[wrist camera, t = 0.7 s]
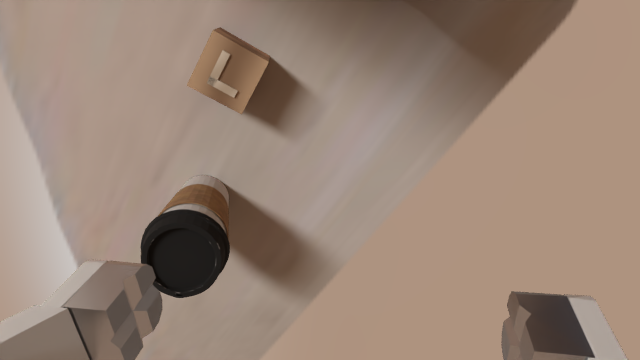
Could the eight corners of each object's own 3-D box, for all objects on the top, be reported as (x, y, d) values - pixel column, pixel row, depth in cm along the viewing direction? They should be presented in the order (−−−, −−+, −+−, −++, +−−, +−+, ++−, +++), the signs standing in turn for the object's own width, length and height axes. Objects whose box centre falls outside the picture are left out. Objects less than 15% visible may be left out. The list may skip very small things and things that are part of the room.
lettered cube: (195, 78, 49) (185, 87, 44) (220, 27, 48) (212, 30, 42) (244, 104, 51) (240, 116, 45) (269, 55, 49) (268, 62, 43)
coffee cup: (168, 223, 55) (132, 296, 41) (171, 160, 52) (134, 216, 39) (235, 230, 57) (222, 303, 43) (242, 169, 54) (231, 226, 40)
